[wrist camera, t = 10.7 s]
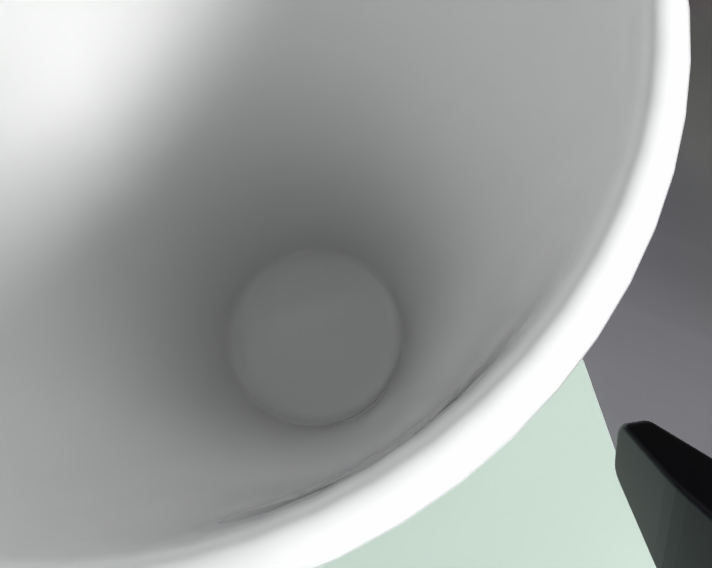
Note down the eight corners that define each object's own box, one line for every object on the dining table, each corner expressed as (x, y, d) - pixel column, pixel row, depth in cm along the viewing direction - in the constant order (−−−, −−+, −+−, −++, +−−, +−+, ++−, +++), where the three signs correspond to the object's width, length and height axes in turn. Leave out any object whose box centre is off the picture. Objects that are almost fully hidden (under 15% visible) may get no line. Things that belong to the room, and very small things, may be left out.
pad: (669, 628, 16) (680, 635, 16) (162, 769, 16) (154, 782, 15) (455, 17, 21) (457, 6, 21) (66, 112, 21) (57, 103, 20)
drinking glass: (324, 515, 17) (10, 1089, 2) (160, 350, 18) (-745, 20, 3) (482, 337, 18) (974, -67, 3) (316, 192, 19) (136, -579, 4)
